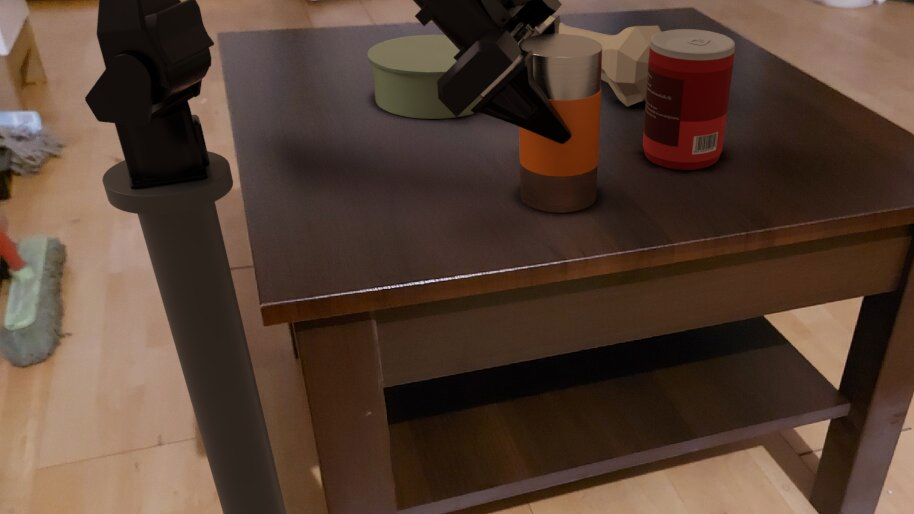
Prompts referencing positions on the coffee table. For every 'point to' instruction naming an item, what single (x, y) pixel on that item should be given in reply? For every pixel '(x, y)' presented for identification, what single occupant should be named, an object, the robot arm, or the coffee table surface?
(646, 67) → the faceted club
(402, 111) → the pot
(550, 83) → the tin can
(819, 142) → the coffee table surface
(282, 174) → the coffee table surface
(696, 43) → the canned food
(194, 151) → the robot arm
